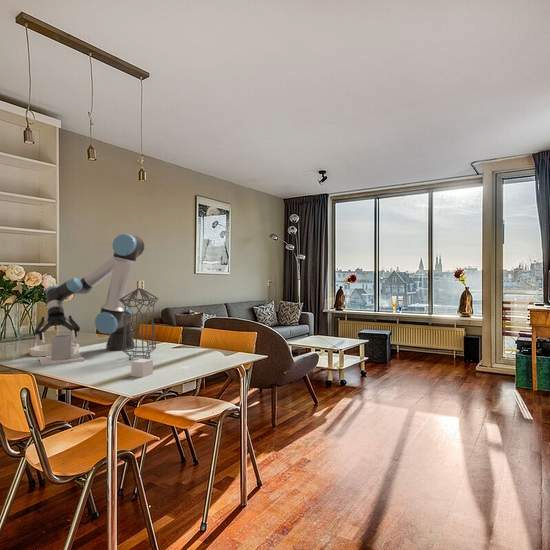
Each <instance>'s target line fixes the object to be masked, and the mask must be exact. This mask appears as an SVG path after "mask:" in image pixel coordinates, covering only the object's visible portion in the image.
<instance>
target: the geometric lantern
mask: <svg viewBox="0 0 550 550" xmlns="http://www.w3.org/2000/svg"><path fill="white" fill-rule="evenodd" d="M138 294H140V297H141V298H138ZM126 297H127V298H126ZM125 298H126V299H125ZM159 299H160V298H159V297H157V296H155V295H153V294H152V293H150V292H148V291H146V290H145V289H143V288H140V287H137V289H135V290H133V291H132V292H129V293H128V294H125V296H124V297H122V298H121V299H119V301H120V302H122V303H123V306H124V308H125V323H124V336H123V348H122V350H121V351H122V352H123V353H125V354H126V355H127V356H128V360H129V361H135V360H139V359H140V358H139V357H142V359H149V358H151V353H153V351H155V350H156V348H157V347H156V346H157V345H156V343H157V342H156V333H155V331H156V330H155V323H154V322H155V321H154V313H155V304H156V303H157V301H158V300H159ZM131 302H134V305H131ZM145 302H148V303H147V304H145ZM136 303H138V304H136ZM139 305H141V306H140V307H138V306H139ZM143 306H146V307H147V309H146V312H145V313H142V312H141V309H142V307H143ZM135 307H136V309H137V312H136V313H133V311H132V310H131V308H135ZM151 307H152V312H151V310H150V308H151ZM126 308H128V310H129V309H130V311H131V314H129V315H126V314H127V312H128V310H127V312H126ZM148 311H149V314H147V312H148ZM127 316H131V347H130V348H131V350H130V348H127V349H126V322H127ZM149 316H151V342H152V343H151V345H152V346H149V336H148V335H149V334H148V319H147V318H148V317H149ZM134 317H135V347H132V338H133V331H134ZM138 317H141V344H142V345H141V346H138V343H137V342H138V341H137V339H138ZM144 317H145V330H146V331H145V332H146V333H145V334H146V346H144ZM124 338H125V350H124ZM137 348H138V349H140V348H141V350H137ZM144 348H146V350H144ZM149 348H150V349H149ZM134 349H135V350H134ZM129 352H130V353H129ZM138 354H139V355H138ZM134 357H138V358H139V359H132V358H134Z"/></svg>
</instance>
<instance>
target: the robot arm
mask: <svg viewBox="0 0 550 550" xmlns="http://www.w3.org/2000/svg"><path fill="white" fill-rule="evenodd" d="M111 245H112V246H111V247H112V250H113V255H112V256H111V257H110V258H108V259H106V260H105V261H104V262H103V263H101V264H100V265H98V266H97V267H95V268H94V269H93V270H92V271H91V272H89V273H88V274H86V275H85V276H83V277H82V278H81V279H79V278H77V277H72V278H70V279H68V280H67V281H65V282H63V283H61V284H59V285H51V286H48V287H47V288H46V289H45V298H46V308H47V309H46V311H47V317H44V316H42V317H41V320H40V322H39V323H38V325H37V326H36V329H35V330H34V335H35V336H36V335H38V337H39V341H41V345H43V346H44V345H46V343H45V332H46V331H47V330H49V328H51V327H53V326H54V327H57V326H62V327H64V328H66V329H68V330H70V332H71V335H72V336H71V338H72V343H73V344H76V338H77V336H78V332H80V330H81V327H80V326H79V325H78V323H76V321H75V320H74V318H73V317H72V315H68V316H67V317H66V316H65V310H64V303H63V301H64V300H66V299H67V298H69V297H70V296H72V295H73V296H75V295H86V294H88V293H90V292H91V291H92V289H93V288H94V287H95V286H97V285H98V284H100V283H101V282H102V281H104V280H106V278H108V277H109V276H111V278H110V282H109V287H108V291H107V295H106V300H105V304H103V305H101V308H100V312H99V313H98V315H96V317H95V319H94V325H95V328H96V330H97V331H99V333H101V334H106V335H109V336H108V339H107V342H106V346H105V350H107V351H122V348H123V336H124V323H125V307H123V306H124V304H123V303H122V302H120V301H119V299H121V298H122V297H124V296H126V291H127V286H128V282H129V278H130V273H131V270H132V265H133V264H134V263H136V261H137V258H139V257H140V256H141V255H142V254H143V252H144V250H145V243H144V241H143V240H142V238H140V237H139V236H135V235H132V234H129V233H122V234H118V235H117V236H115V238H114V239H113V240H112V244H111ZM128 308H129V307H126V312H127V310H128ZM130 309H131V308H130ZM130 309H129V310H128V312H127V314H126V315H129V314H132V312H131V311H132V310H131V311H130ZM46 322H47V323H46ZM68 322H69V323H68ZM45 323H46V324H45ZM44 324H45V325H44ZM131 332H132V316H127V322H126V349H127V348H130V347H131ZM133 338H134V337H132V347H136V345H135V341H134V339H133ZM130 349H131V348H130ZM130 349H129V350H130ZM124 350H125V338H124ZM131 350H132V349H131Z"/></svg>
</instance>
